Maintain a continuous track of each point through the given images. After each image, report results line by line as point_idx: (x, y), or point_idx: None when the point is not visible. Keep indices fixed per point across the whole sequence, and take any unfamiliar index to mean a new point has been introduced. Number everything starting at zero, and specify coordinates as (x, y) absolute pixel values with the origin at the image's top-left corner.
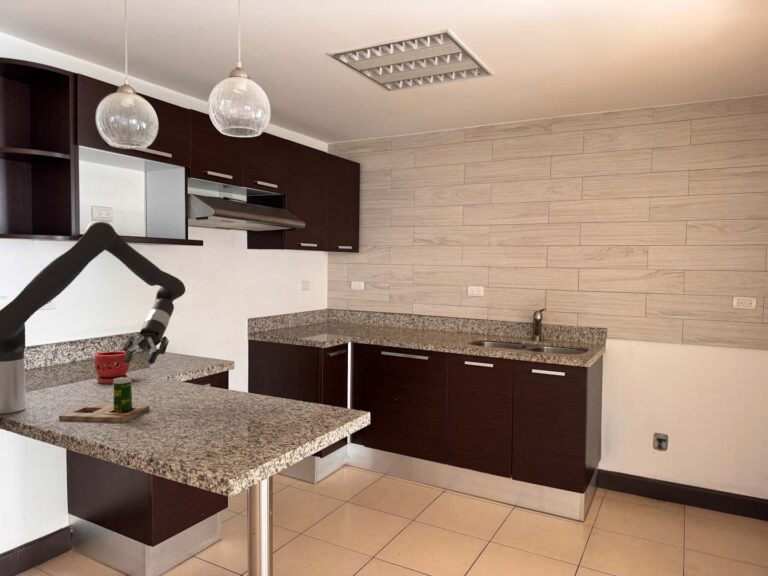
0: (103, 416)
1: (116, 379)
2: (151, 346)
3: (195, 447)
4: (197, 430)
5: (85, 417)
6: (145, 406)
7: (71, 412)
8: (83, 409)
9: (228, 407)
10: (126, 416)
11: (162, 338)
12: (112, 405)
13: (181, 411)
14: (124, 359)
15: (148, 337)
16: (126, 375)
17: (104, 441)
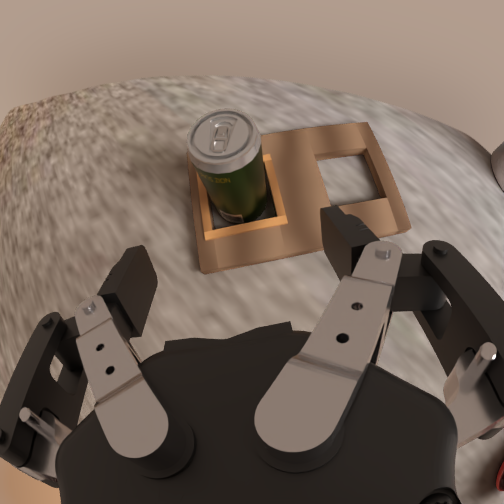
0: None
1: (235, 117)
2: (106, 321)
3: (34, 134)
4: (40, 185)
5: (297, 130)
6: (208, 261)
7: (368, 147)
8: (382, 190)
9: None
10: (188, 160)
11: (39, 465)
12: None
13: None
14: (348, 215)
15: (151, 438)
16: (501, 489)
17: (154, 84)
